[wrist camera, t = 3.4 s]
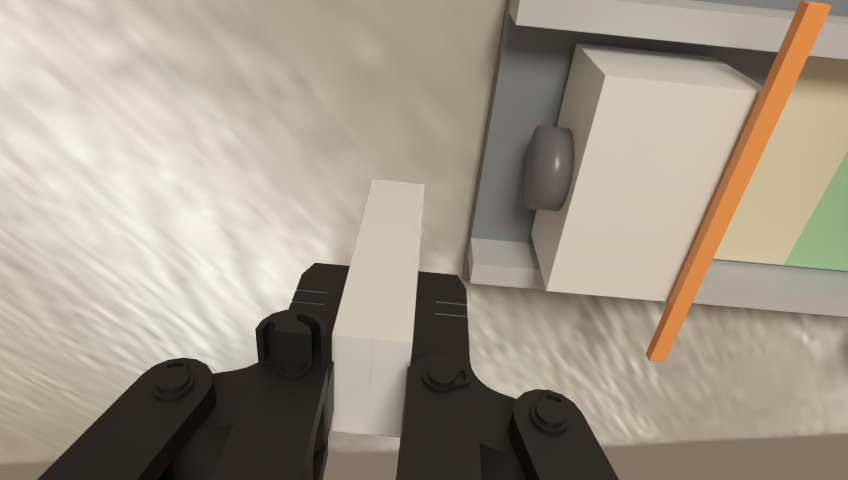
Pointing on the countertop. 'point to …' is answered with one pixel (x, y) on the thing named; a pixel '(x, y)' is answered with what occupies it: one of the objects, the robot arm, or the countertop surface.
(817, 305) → the gauge base
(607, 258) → the cream box orange strip
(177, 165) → the countertop surface
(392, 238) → the robot arm
